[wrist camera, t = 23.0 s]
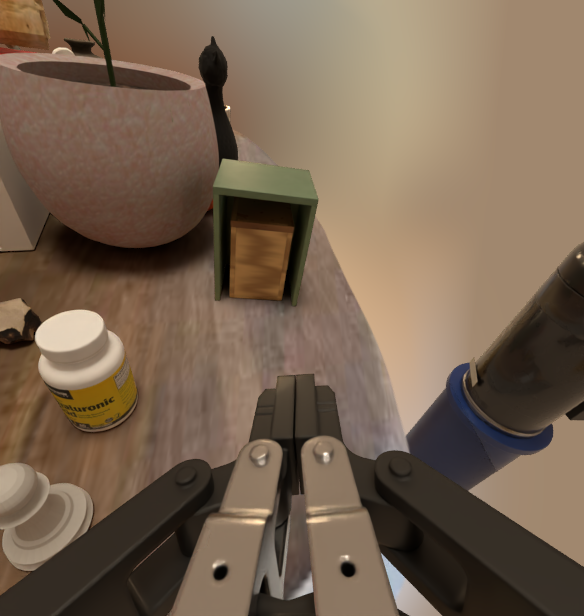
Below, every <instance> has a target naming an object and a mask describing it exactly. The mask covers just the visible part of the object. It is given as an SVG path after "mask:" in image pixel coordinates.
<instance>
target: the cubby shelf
mask: <svg viewBox="0 0 584 616" xmlns="http://www.w3.org/2000/svg"><path fill="white" fill-rule="evenodd" d="M234 196H235V197H243V198H251V199H260V200H268V201H276V202H285V203H290V205H291V211H292V216H293V222H294V233H293V236H292V242H291V248H290V254H289V260H288V266H287V270H288V271H289V281H290V292H291V302H292V306H296V304H297V299H298V295H299V290H300V285H301V280H302V276H303V271H304V266H305V261H306V257H307V252H308V247H309V242H310V238H311V233H312V228H313V223H314V219H315V214H316V209H317V204H318V197H317V194H316V190H315V188H314V184H313V181H312V178H311V175H310V172H309V170H302V169H295V168H288V167H280V166H273V165H266V164H259V163H251V162H244V161H237V160H230V159H222V162H221V165H220V167H219V170H218V173H217V176H216V179H215V182H214V185H213V223H214V273H215V300H218V301H220V296H221V290H222V284H223V279H224V273H225V267H226V264H230V244H231V227H230V221H231V214H232V208H233V202H234Z"/></svg>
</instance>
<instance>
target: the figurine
mask: <svg viewBox="0 0 584 616" xmlns="http://www.w3.org/2000/svg"><path fill="white" fill-rule="evenodd" d="M199 70H200V74H201V77H202V78H203V81H204V83H205V86H206V90H207V94H208V98H209V102H210V106H211V110H212V115H213V120H214V125H215V131H216V137H217V144H218V153H219V167H220V165H221V162H222V159H230V160H237V161H238V149H237V144H236V140H235V136H234V133H233V130H232V127H231V124H230V122H229V119H228V116H227V113H226V110H225V106H224V103H223V94H222V87H223V86H224V84H225V82H226V79H227V61H226V59H225V57H224V55H223V53H222V51H221V50H220V49H219V47H218V46H217V44H216V42H215V39H214V37H213V36H212V37H211V45H209V46H206V47H205V49H204V51H203V52H202V53H201V55H200V57H199Z"/></svg>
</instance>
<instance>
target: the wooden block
mask: <svg viewBox="0 0 584 616" xmlns="http://www.w3.org/2000/svg"><path fill="white" fill-rule="evenodd" d="M48 39H50V35H49V26H48V23H47V19H46V16H45V12H44V8H43V4H42V1H41V0H0V44H7V45H15V46H22V47H29V48H38V49H45V50H49V44H48Z"/></svg>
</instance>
